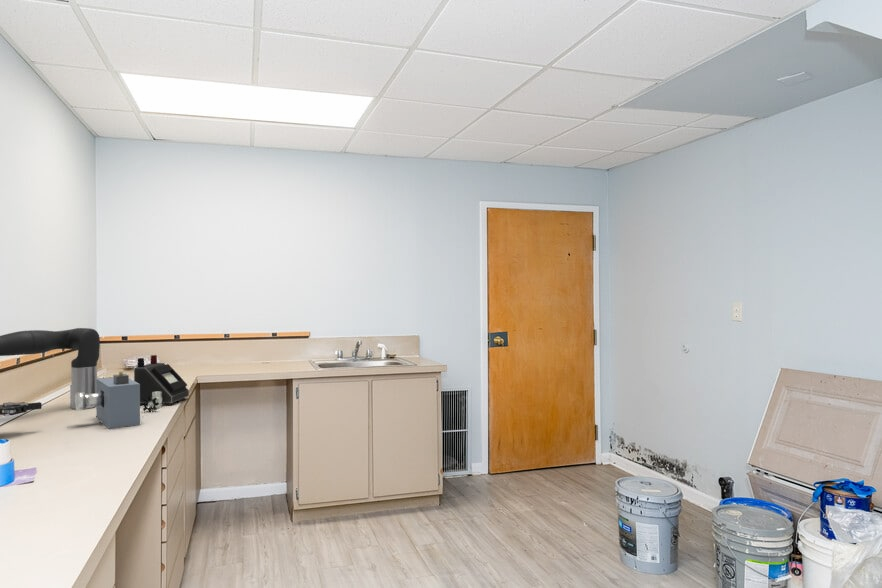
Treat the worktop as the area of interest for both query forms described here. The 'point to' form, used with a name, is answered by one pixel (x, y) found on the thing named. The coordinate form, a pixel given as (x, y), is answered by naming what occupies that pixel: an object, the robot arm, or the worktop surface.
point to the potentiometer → (121, 378)
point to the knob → (88, 400)
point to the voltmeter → (159, 381)
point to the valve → (153, 401)
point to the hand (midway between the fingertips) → (41, 405)
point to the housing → (118, 403)
